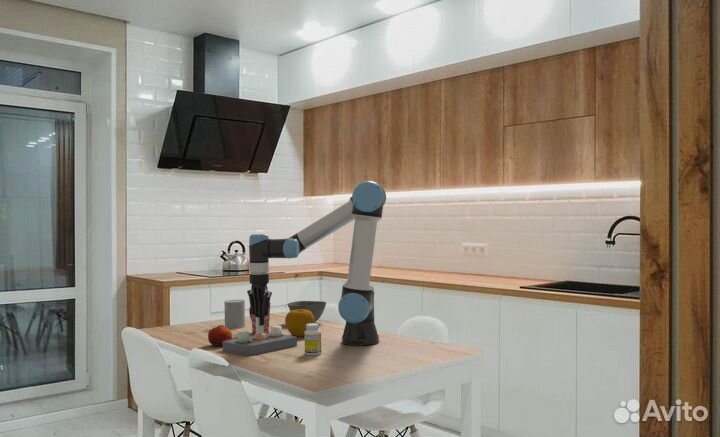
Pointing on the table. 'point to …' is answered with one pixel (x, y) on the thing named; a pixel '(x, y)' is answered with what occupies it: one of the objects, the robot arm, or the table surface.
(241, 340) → the button sage
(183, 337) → the table surface
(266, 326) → the mug
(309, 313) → the apple
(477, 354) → the table surface
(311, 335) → the pill bottle
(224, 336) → the tomato
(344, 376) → the table surface
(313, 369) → the table surface
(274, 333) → the button cream
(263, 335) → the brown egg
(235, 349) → the panel
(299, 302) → the bowl
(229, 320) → the grey stone cylinder
